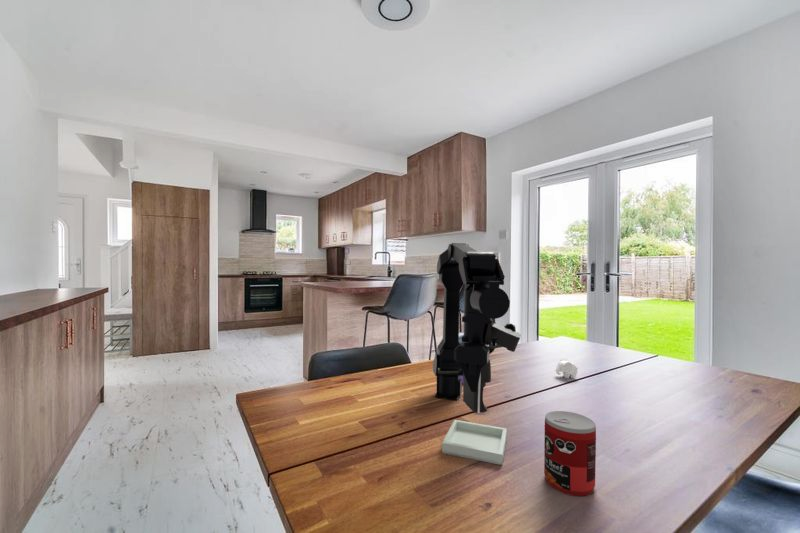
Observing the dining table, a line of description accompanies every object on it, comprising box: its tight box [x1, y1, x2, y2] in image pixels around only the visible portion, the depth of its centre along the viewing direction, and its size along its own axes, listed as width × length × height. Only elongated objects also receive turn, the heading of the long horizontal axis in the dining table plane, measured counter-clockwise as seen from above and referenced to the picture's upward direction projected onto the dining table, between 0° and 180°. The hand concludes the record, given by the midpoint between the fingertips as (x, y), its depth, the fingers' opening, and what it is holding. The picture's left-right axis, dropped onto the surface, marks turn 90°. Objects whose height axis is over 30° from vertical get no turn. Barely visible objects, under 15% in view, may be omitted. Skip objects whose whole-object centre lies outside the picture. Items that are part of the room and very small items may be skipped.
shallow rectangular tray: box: [441, 419, 508, 466], centre depth 73 cm, size 12×12×2 cm
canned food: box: [543, 410, 597, 497], centre depth 61 cm, size 8×8×11 cm
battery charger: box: [462, 359, 492, 414], centre depth 74 cm, size 7×4×11 cm, turn 11°
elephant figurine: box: [555, 357, 580, 380], centre depth 121 cm, size 7×8×6 cm
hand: (476, 386), depth 74 cm, fingers closed on battery charger, 7 cm apart
